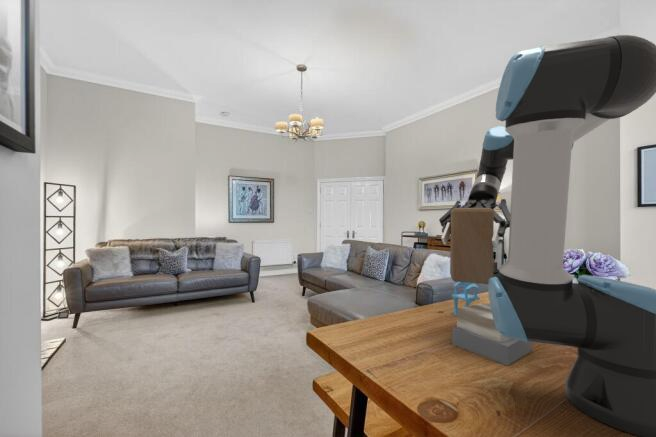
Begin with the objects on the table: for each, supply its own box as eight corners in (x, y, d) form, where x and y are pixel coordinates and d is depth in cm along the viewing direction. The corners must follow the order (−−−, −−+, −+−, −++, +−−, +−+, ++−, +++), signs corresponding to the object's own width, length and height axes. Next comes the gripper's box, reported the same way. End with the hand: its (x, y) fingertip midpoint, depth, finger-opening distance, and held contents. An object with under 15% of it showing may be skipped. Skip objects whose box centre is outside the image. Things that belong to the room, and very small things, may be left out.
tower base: (507, 367, 68) (507, 346, 68) (452, 346, 79) (452, 327, 79) (531, 352, 76) (532, 333, 76) (478, 335, 87) (478, 318, 87)
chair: (448, 313, 106) (448, 280, 106) (464, 310, 109) (465, 279, 109) (465, 320, 99) (466, 285, 99) (483, 317, 102) (483, 283, 102)
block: (493, 285, 74) (494, 207, 75) (451, 281, 78) (452, 207, 78) (487, 278, 84) (488, 209, 84) (449, 275, 87) (450, 209, 88)
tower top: (500, 342, 70) (500, 322, 70) (456, 326, 80) (457, 308, 80) (527, 334, 76) (527, 314, 76) (483, 319, 86) (483, 303, 86)
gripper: (533, 199, 84) (522, 255, 73) (447, 202, 101) (428, 248, 89) (530, 179, 80) (518, 235, 69) (442, 186, 97) (420, 231, 86)
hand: (467, 242), depth 79 cm, fingers closed on block, 12 cm apart
